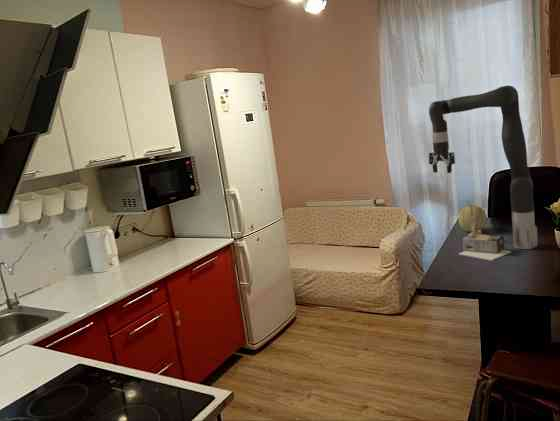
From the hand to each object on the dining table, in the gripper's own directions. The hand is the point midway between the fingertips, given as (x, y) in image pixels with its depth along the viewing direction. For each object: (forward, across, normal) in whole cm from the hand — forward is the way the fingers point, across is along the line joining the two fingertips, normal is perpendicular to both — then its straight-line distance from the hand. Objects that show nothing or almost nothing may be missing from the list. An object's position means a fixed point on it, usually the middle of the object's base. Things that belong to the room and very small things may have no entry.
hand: (442, 172), depth 234 cm
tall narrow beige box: (+36, -13, -7) cm, 39 cm away
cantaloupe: (+37, 0, -22) cm, 43 cm away
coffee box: (+33, -17, +7) cm, 38 cm away
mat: (+36, -28, +8) cm, 46 cm away
